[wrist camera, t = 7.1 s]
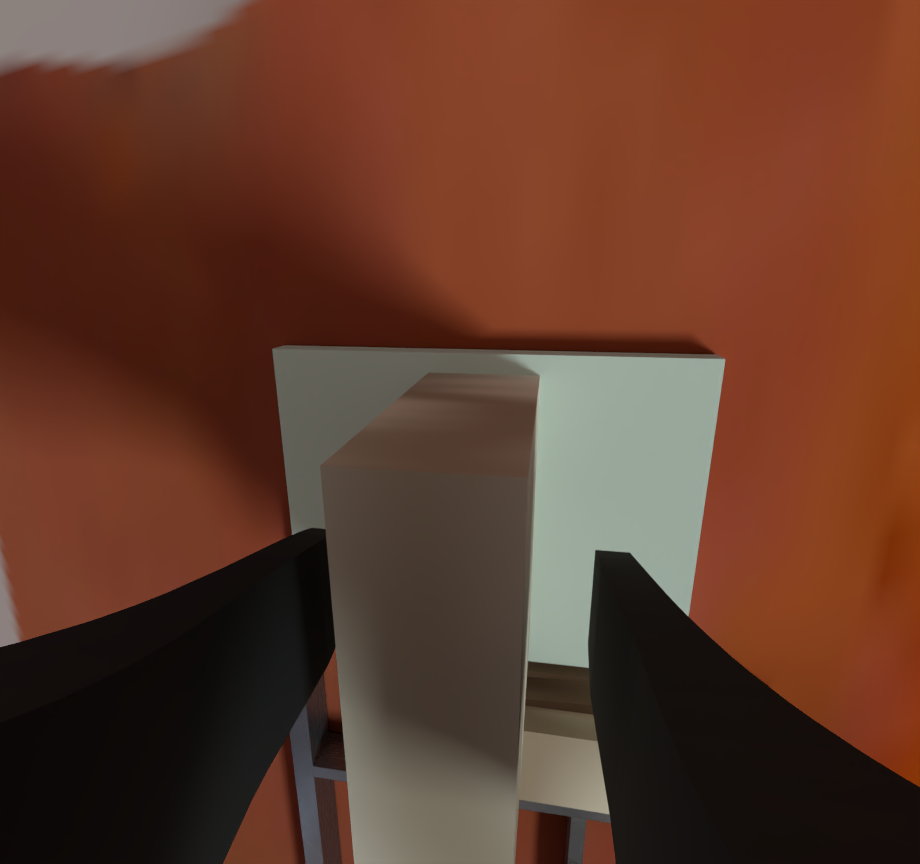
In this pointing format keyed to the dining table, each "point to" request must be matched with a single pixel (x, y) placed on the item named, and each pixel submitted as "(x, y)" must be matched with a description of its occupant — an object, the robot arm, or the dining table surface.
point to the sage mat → (541, 458)
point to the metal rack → (325, 762)
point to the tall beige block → (435, 616)
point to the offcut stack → (561, 740)
